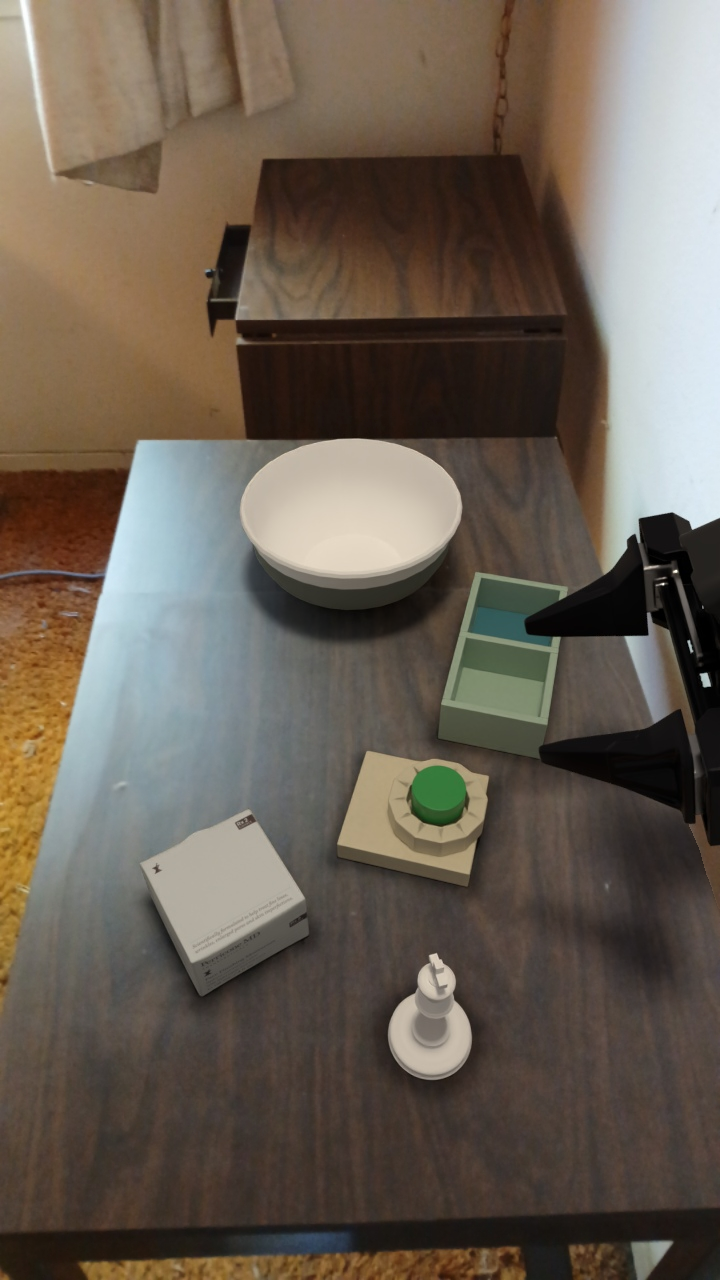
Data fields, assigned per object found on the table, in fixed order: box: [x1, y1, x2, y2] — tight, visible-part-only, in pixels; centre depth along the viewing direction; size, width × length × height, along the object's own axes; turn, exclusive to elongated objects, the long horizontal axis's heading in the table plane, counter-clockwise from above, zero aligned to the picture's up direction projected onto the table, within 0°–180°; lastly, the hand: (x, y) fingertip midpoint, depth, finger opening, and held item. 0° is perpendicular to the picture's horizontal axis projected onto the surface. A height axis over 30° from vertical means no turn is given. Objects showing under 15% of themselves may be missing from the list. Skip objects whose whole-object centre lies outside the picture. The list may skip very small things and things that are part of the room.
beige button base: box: [336, 750, 490, 888], centre depth 61 cm, size 9×8×4 cm
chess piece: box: [387, 952, 473, 1081], centre depth 49 cm, size 5×5×10 cm
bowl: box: [239, 438, 463, 611], centre depth 77 cm, size 19×19×8 cm
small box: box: [139, 808, 310, 997], centre depth 56 cm, size 8×8×5 cm
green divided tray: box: [437, 571, 569, 760], centre depth 70 cm, size 15×8×4 cm, turn 165°
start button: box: [411, 765, 466, 825], centre depth 59 cm, size 4×4×2 cm
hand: (531, 686), depth 49 cm, fingers open, 9 cm apart
